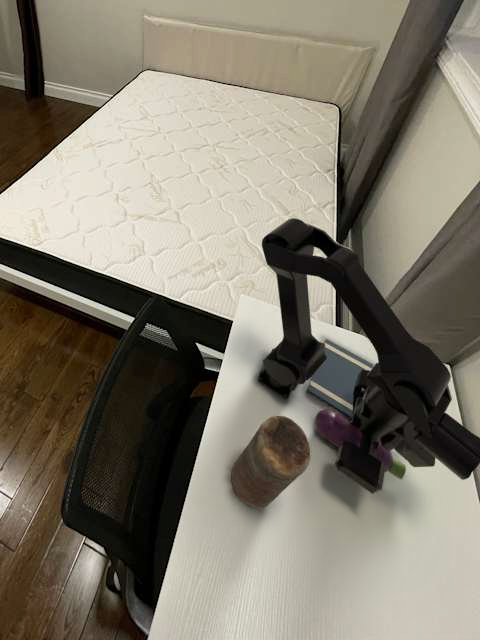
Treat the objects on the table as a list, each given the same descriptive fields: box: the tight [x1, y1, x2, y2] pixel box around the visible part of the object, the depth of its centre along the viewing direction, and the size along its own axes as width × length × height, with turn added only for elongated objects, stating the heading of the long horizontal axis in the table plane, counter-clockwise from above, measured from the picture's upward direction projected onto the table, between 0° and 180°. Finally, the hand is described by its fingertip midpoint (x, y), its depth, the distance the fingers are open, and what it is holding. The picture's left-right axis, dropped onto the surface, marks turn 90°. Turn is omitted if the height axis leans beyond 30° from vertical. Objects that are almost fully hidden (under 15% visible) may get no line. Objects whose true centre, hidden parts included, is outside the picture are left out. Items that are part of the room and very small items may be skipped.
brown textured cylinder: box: [230, 415, 311, 509], centre depth 57 cm, size 8×7×20 cm
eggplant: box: [314, 408, 407, 480], centre depth 66 cm, size 15×5×5 cm, turn 54°
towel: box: [306, 338, 374, 419], centre depth 77 cm, size 10×14×1 cm
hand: (350, 441), depth 67 cm, fingers open, 9 cm apart
